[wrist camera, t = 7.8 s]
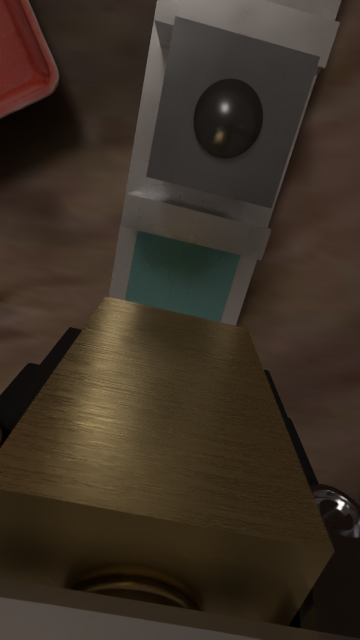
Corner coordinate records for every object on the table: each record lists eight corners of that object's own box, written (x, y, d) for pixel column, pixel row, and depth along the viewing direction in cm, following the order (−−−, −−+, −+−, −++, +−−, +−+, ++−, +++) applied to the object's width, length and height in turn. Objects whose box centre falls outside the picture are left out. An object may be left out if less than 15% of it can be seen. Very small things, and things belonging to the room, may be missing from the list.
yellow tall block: (247, 328, 11) (340, 567, 4) (210, 438, 13) (234, 733, 6) (105, 296, 11) (-35, 499, 4) (86, 413, 12) (-34, 694, 6)
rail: (382, -162, 15) (469, -316, 10) (218, 358, 25) (224, 399, 20) (201, -221, 14) (206, -411, 10) (107, 333, 24) (87, 369, 20)
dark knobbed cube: (271, 103, 17) (322, 54, 10) (243, 198, 19) (272, 209, 12) (181, 79, 17) (174, 12, 10) (161, 177, 18) (145, 176, 12)
